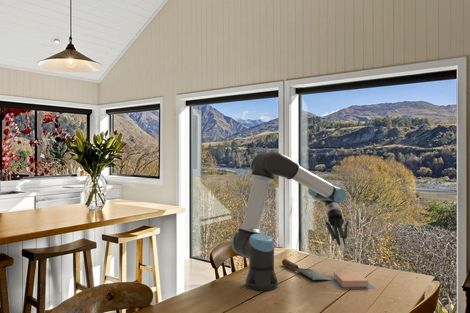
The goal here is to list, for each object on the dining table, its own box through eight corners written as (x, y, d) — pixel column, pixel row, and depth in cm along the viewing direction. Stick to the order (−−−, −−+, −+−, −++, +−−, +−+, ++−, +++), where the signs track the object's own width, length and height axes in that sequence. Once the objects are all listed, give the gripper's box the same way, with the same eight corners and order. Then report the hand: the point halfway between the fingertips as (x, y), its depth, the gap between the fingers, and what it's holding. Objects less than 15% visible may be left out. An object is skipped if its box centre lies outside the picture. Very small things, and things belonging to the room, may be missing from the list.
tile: (333, 278, 194) (342, 288, 180) (333, 271, 194) (342, 280, 180) (357, 278, 194) (368, 287, 180) (357, 271, 194) (368, 280, 180)
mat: (337, 290, 179) (337, 289, 179) (325, 276, 199) (325, 275, 199) (375, 289, 179) (375, 288, 179) (360, 276, 199) (360, 275, 199)
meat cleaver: (332, 279, 192) (332, 271, 192) (312, 283, 188) (312, 275, 188) (298, 263, 223) (298, 256, 223) (280, 266, 219) (280, 258, 219)
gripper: (344, 216, 219) (353, 253, 203) (321, 216, 219) (328, 253, 203) (347, 208, 214) (357, 246, 198) (323, 208, 214) (331, 246, 197)
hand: (342, 250), depth 200 cm, fingers closed
